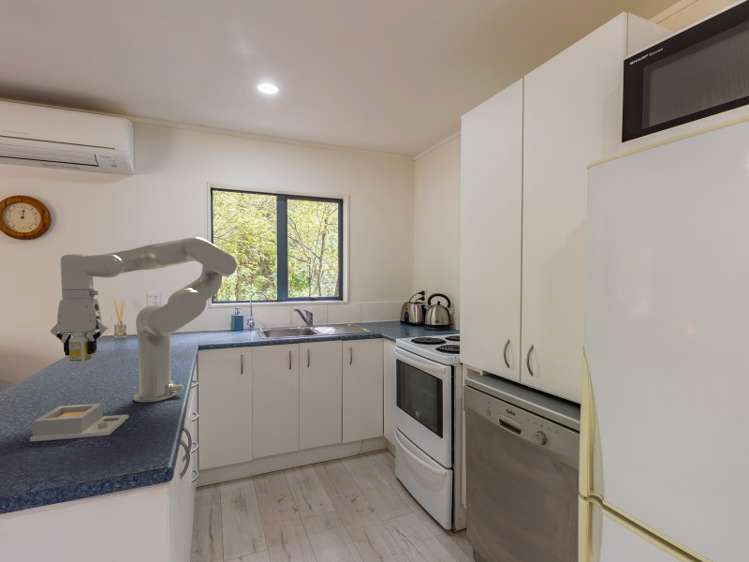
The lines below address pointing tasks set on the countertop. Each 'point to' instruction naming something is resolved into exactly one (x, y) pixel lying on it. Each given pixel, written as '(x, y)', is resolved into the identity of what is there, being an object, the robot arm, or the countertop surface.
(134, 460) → the countertop surface
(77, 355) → the supplement bottle
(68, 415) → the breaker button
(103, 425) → the white holder tray
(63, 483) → the countertop surface
